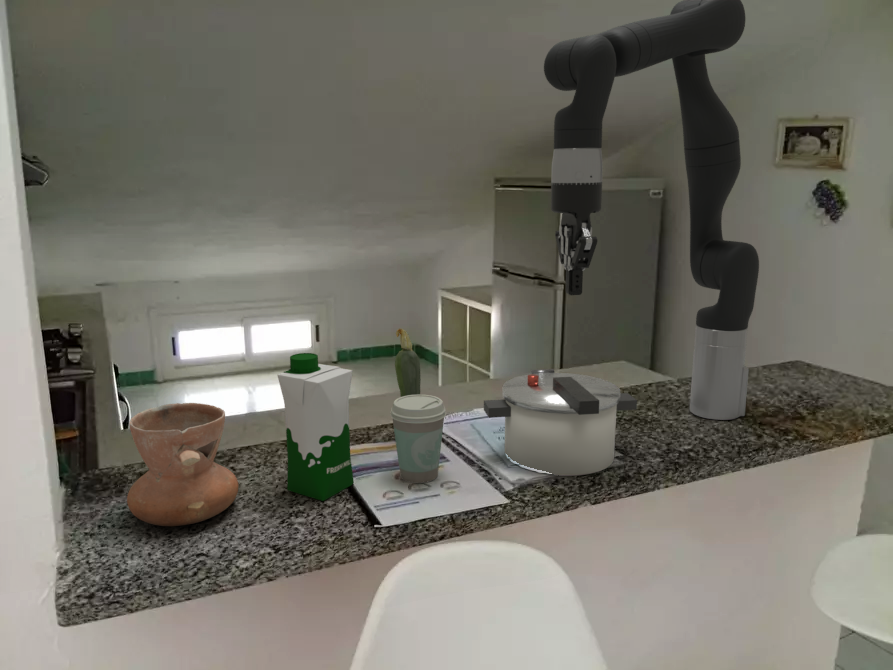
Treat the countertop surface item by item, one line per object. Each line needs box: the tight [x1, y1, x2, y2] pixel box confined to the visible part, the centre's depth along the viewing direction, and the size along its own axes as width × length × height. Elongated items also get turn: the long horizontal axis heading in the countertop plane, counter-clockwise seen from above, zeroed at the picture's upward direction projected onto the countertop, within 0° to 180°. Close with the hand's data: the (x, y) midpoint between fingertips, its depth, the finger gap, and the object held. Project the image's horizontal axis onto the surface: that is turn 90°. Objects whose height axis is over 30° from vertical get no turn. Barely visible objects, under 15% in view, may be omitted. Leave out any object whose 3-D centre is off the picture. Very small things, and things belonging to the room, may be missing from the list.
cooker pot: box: [483, 392, 638, 477], centre depth 119 cm, size 25×18×10 cm
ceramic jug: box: [126, 402, 239, 527], centre depth 99 cm, size 18×14×14 cm
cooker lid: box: [501, 368, 621, 415], centre depth 117 cm, size 19×25×4 cm
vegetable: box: [394, 328, 421, 398], centre depth 125 cm, size 4×4×20 cm
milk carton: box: [277, 352, 355, 502], centre depth 106 cm, size 9×9×20 cm
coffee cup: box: [389, 394, 447, 484], centre depth 111 cm, size 8×8×12 cm
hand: (573, 294), depth 112 cm, fingers closed
